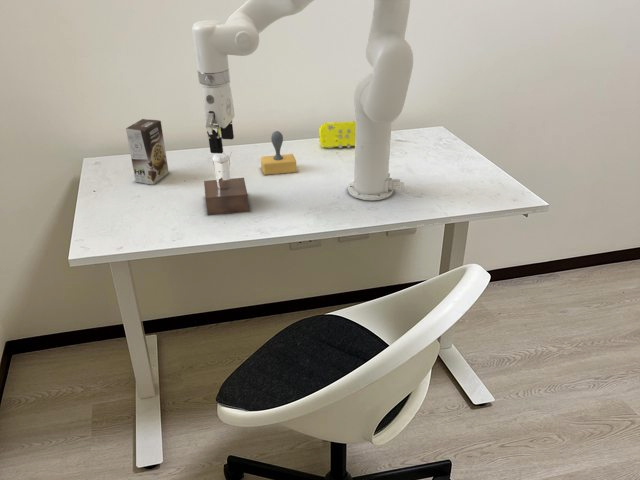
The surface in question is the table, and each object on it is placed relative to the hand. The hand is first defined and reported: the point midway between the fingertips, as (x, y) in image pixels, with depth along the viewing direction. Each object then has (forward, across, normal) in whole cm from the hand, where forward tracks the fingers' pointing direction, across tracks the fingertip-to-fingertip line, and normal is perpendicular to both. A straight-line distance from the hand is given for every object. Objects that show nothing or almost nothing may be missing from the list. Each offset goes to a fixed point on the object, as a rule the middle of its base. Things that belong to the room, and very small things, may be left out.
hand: (222, 145), depth 161 cm
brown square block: (+16, 0, +1) cm, 17 cm away
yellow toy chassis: (+17, +48, -25) cm, 57 cm away
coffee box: (+16, +14, +28) cm, 35 cm away
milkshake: (+12, 0, +1) cm, 12 cm away
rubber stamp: (+17, +25, -8) cm, 31 cm away
